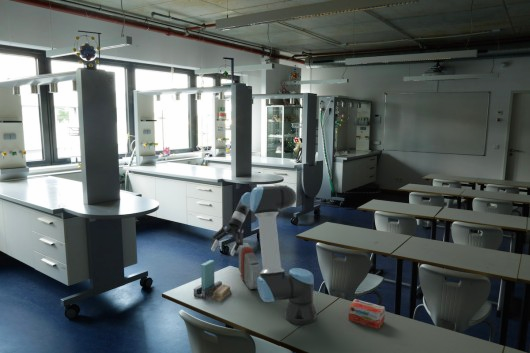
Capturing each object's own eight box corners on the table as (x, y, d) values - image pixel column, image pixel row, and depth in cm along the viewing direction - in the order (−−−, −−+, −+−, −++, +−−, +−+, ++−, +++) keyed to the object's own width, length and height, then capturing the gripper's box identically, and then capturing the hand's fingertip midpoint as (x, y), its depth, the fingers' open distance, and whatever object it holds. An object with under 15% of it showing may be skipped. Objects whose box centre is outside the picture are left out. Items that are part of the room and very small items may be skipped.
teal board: (214, 289, 222) (214, 260, 220) (205, 295, 216) (204, 265, 213) (211, 288, 224) (210, 259, 221) (201, 294, 217) (201, 264, 214)
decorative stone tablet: (237, 242, 241) (250, 264, 213) (248, 241, 243) (262, 263, 215) (237, 271, 246) (250, 297, 218) (247, 270, 247) (261, 295, 220)
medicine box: (384, 322, 191) (385, 306, 189) (379, 329, 184) (380, 313, 183) (353, 313, 198) (354, 298, 197) (347, 320, 192) (348, 305, 190)
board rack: (222, 288, 224) (221, 281, 223) (204, 299, 212) (204, 292, 211) (211, 285, 228) (211, 278, 227) (193, 295, 215) (193, 288, 215)
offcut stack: (231, 293, 219) (231, 286, 218) (220, 302, 209) (220, 294, 208) (222, 291, 221) (222, 284, 220) (211, 300, 211) (211, 292, 211)
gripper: (257, 227, 234) (242, 260, 224) (222, 220, 246) (207, 251, 236) (252, 220, 228) (237, 253, 218) (217, 214, 241) (201, 245, 231)
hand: (221, 252), depth 227 cm, fingers open, 13 cm apart
